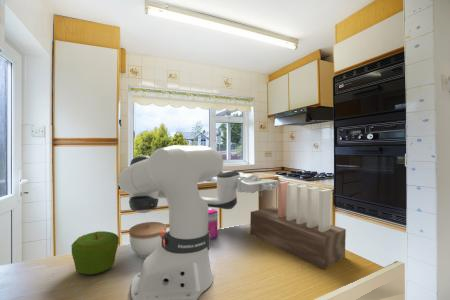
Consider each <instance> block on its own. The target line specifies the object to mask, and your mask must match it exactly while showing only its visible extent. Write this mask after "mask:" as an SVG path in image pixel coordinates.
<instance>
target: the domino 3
mask: <svg viewBox="0 0 450 300" xmlns="http://www.w3.org/2000/svg"><path fill="white" fill-rule="evenodd" d="M307 188H309V185H307V184H304V185H303V184H302V185H298V186H297V209H296V223H297V224H303V223H306V222H307Z"/></svg>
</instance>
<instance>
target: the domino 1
mask: <svg viewBox="0 0 450 300" xmlns="http://www.w3.org/2000/svg"><path fill="white" fill-rule="evenodd" d="M287 184H290V182H289V181H282V182H279V183H278V188H277V208H278V217H280V218H282V217H285V216H286V207H287Z"/></svg>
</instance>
